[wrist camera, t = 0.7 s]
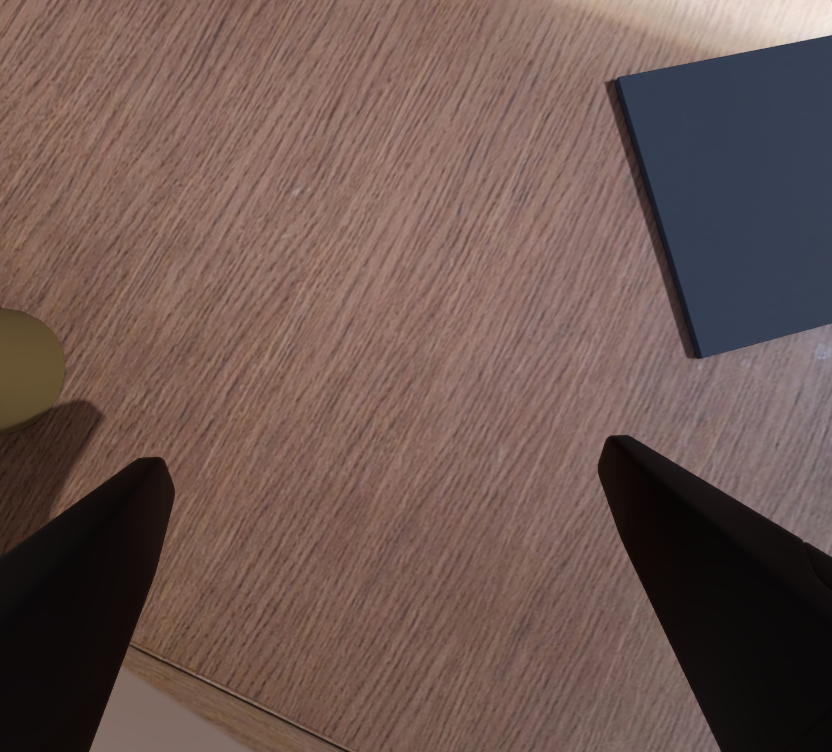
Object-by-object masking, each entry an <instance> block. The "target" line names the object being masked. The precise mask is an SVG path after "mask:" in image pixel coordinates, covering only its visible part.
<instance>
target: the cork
mask: <svg viewBox="0 0 832 752" xmlns="http://www.w3.org/2000/svg"><path fill="white" fill-rule="evenodd" d="M65 371H66V370H65V362H64V354H63V350H62V348H61V346H60V344H59V342H58V340H57V338H56V336H55V334H54V333H53V332H52V331H51V330H50V329H49V328H48V327H47V326H46V325H45V324H44V323H43V322H42V321H41V320H39V319H37V318H35V317H33V316H31V315H29V314H26V313H24V312H22V311H17V310H10V309H4V308H0V435H3V434H9V433H15V432H17V431H19V430H22V429H24V428H26V427H28V426H30V425H32V424H34V423H36V422H37V421H38V420H39V419H40V418H41V417H42V416H43V415H44V414H45V413H46V412H48V411H49V410H50V409H51V407H52V406H53V404H54V402H55V401H56V399H57V397H58V395H59V394H60V392H61V390H62V385H63V381H64V376H65Z"/></svg>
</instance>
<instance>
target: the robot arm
mask: <svg viewBox="0 0 832 752" xmlns="http://www.w3.org/2000/svg"><path fill="white" fill-rule="evenodd" d="M598 474H599V478H600V481H601V483H602V486H603V489H604V492H605V495H606V498H607V501H608V504H609V506H610V509H611V512H612V515H613V518H614V521H615V524H616V527H617V530H618V532H619V535H620V537H621V540H622V542H623V544H624V547H625V549H626V551H627V553H628V555H629V558H630V560H631V562H632V564H633V566H634V568H635V570H636V572H637V574H638V577H639V579H640V581H641V583H642V585H643V587H644V589H645V591H646V593H647V596H648V598H649V600H650V602H651V604H652V606H653V608H654V610H655V613H656V615H657V617H658V619H659V621H660V623H661V625H662V627H663V629H664V632H665V634H666V636H667V638H668V640H669V642H670V644H671V646H672V648H673V651H674V653H675V655H676V657H677V659H678V661H679V663H680V665H681V668H682V670H683V672H684V674H685V676H686V678H687V680H688V682H689V684H690V687H691V689H692V691H693V693H694V695H695V697H696V699H697V701H698V703H699V706H700V708H701V710H702V712H703V714H704V716H705V718H706V720H707V722H708V725H709V727H710V729H711V731H712V733H713V735H714V737H715V739H716V742H717V744H718V746H719V748H720V750H721V752H832V557H831V556H829V555H827V554H826V553H824V552H822V551H821V550H819V549H817V548H816V547H814V546H812V545H811V544H809V543H807V542H805V543H804V542H803V540H802V539H801V538H799V537H797V536H796V535H794V534H792V533H791V532H789V531H787V530H786V529H784V528H782V527H781V526H779V525H777V524H776V523H774V522H772V521H771V520H769V519H767V518H766V517H764V516H762V515H761V514H759V513H757V512H756V511H754V510H752V509H751V508H749V507H747V506H746V505H744V504H742V503H741V502H739V501H737V500H736V499H734V498H732V497H731V496H729V495H727V494H726V493H724V492H722V491H721V490H719V489H717V488H716V487H714V486H712V485H711V484H709V483H707V482H706V481H704V480H702V479H701V478H699V477H697V476H696V475H694V474H692V473H691V472H689V471H687V470H686V469H684V468H682V467H681V466H679V465H677V464H676V463H674V462H672V461H671V460H669V459H667V458H666V457H664V456H662V455H661V454H659V453H657V452H656V451H654V450H652V449H651V448H649V447H647V446H646V445H644V444H642V443H641V442H639V441H637V440H636V439H634V438H632V437H631V436H628V435H613V436H609V437H608V438H607V439H606V441H605V444H604V447H603V450H602V453H601V456H600V460H599V463H598ZM174 497H175V489H174V485H173V482H172V479H171V476H170V474H169V471H168V468H167V466H166V463H165V461H164V460H163V459H162V458H161V457H143V458H138V459H137V460H135V461H133V462H132V463H131V464H129V465H128V466H127V467H125V468H124V469H122V470H121V471H120V472H118V473H117V474H115V475H114V476H113V477H111V478H110V479H109V480H107V481H106V482H104V483H103V484H102V485H100V486H99V487H97V488H96V489H95V490H93V491H92V492H91V493H89V494H88V495H86V496H85V497H84V498H82V499H81V500H79V501H78V502H77V503H75V504H74V505H73V506H71V507H70V508H68V509H67V510H66V511H64V512H63V513H61V514H60V515H59V516H57V517H56V518H55V519H53V520H52V521H50V522H49V523H48V524H46V525H45V526H43V527H42V528H41V529H39V530H38V531H37V532H35V533H34V534H32V535H31V536H30V537H28V538H27V539H25V540H24V541H23V542H21V543H20V544H19V545H17V546H16V547H14V548H13V549H12V550H10V551H9V552H7V553H6V554H5V555H3V556H2V557H1V558H0V752H89V750H90V748H91V745H92V742H93V740H94V737H95V734H96V732H97V729H98V726H99V724H100V721H101V718H102V716H103V713H104V710H105V708H106V705H107V702H108V700H109V697H110V694H111V692H112V689H113V686H114V683H115V681H116V678H117V676H118V673H119V670H120V667H121V665H122V662H123V659H124V657H125V654H126V651H127V649H128V646H129V643H130V641H131V638H132V635H133V633H134V630H135V627H136V625H137V622H138V619H139V616H140V614H141V611H142V608H143V606H144V603H145V600H146V598H147V595H148V592H149V590H150V587H151V584H152V581H153V578H154V576H155V573H156V569H157V566H158V562H159V558H160V554H161V550H162V546H163V542H164V538H165V534H166V530H167V526H168V522H169V518H170V514H171V510H172V506H173V502H174Z"/></svg>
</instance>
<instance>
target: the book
mask: <svg viewBox="0 0 832 752" xmlns="http://www.w3.org/2000/svg"><path fill="white" fill-rule="evenodd" d="M615 85H616V88H617V92H618V95H619V98H620V102H621V105H622V108H623V112H624V115H625V118H626V122H627V125H628V128H629V132H630V135H631V138H632V142H633V145H634V148H635V152H636V155H637V158H638V162H639V165H640V168H641V172H642V175H643V178H644V182H645V185H646V188H647V192H648V195H649V198H650V202H651V205H652V208H653V212H654V215H655V218H656V222H657V225H658V229H659V232H660V235H661V239H662V242H663V245H664V249H665V252H666V255H667V259H668V262H669V265H670V269H671V272H672V275H673V279H674V282H675V285H676V289H677V292H678V295H679V299H680V302H681V305H682V309H683V312H684V315H685V319H686V322H687V325H688V329H689V332H690V335H691V339H692V342H693V345H694V349H695V352H696V355H697V358H698V359H701V358H705V357H709V356H712V355H716V354H720V353H724V352H727V351H731V350H735V349H738V348H742V347H746V346H749V345H753V344H757V343H760V342H764V341H768V340H772V339H775V338H779V337H783V336H786V335H790V334H794V333H797V332H801V331H805V330H809V329H812V328H816V327H820V326H823V325H827V324H831V323H832V35H831V36H826V37H821V38H816V39H810V40H805V41H800V42H795V43H790V44H785V45H780V46H775V47H770V48H765V49H760V50H755V51H749V52H744V53H739V54H734V55H729V56H724V57H719V58H714V59H709V60H704V61H699V62H694V63H688V64H683V65H678V66H673V67H668V68H663V69H658V70H653V71H648V72H643V73H638V74H633V75H627V76H622V77H618V78H617V80H616V81H615Z"/></svg>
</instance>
